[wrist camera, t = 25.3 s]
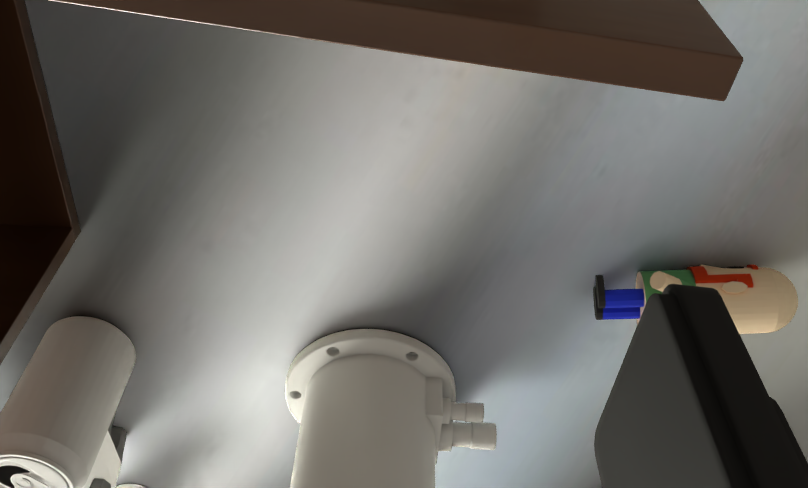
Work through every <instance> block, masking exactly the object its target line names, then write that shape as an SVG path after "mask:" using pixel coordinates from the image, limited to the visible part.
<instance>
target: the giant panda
mask: <svg viewBox="0 0 808 488" xmlns="http://www.w3.org/2000/svg"><path fill="white" fill-rule="evenodd" d="M115 414H116V411H115ZM115 414H114V416H113V419H112V421H111V423H110V426H109V428H108V431H107V433H106V436H105V438H104V441H103V443H102V445H101V448H100V450H99V453H98V455H97V458H96V460H95V462H94V465H93V467H92V470H91V472H90V475H89V477H88V479H87V482H86V484H85V485H84V486H83V487H82V488H115V486H116V483H117V479H118V476H119V473H120V469H121V464H122V456H123V450H124V445H125V441H126V435H127V432H126V431H125V430H124V429H123V428H120V427H112V424H113V421H114V418H115Z"/></svg>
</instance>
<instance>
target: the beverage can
mask: <svg viewBox="0 0 808 488" xmlns="http://www.w3.org/2000/svg"><path fill="white" fill-rule="evenodd" d="M135 362H136V352H135V348H134V346H133V344H132V342H131V341H130V339H129V338H128V337H127V336H126V335H125V334H124V333H123V332H122V331H121V330H119V329H118V328H117V327H115V326H114V325H112V324H110V323H108V322H106V321H104V320H101V319H97V318H93V317H83V316H75V317H68V318H64V319H61V320H59V321H57V322H55V323H54V324H52V325H51V326H50V327H49V328H48V330H47V331H46V333H45V335H44V337H43V338H42V340H41V342H40V344H39V346H38V347H37V349H36V351H35V353H34V354H33V356H32V358H31V360H30V362H29V363H28V365H27V367H26V369H25V370H24V372H23V374H22V376H21V378H20V379H19V381H18V383H17V385H16V386H15V388H14V390H13V392H12V394H11V395H10V397H9V399H8V401H7V403H6V404H5V406H4V408H3V410H2V411H1V413H0V488H82V487H83V486H84V485H85V484H86V482H87V479H88V477H89V475H90V472H91V470H92V467H93V465H94V462H95V460H96V458H97V455H98V453H99V450H100V448H101V445H102V443H103V441H104V438H105V436H106V433H107V431H108V428H109V426H110V423H111V421H112V419H113V416H114V414H115V411H116V409H117V406H118V404H119V402H120V399H121V397H122V394H123V392H124V389H125V387H126V385H127V382H128V380H129V377H130V375H131V372H132V370H133V368H134V365H135Z"/></svg>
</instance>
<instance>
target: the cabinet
mask: <svg viewBox="0 0 808 488" xmlns="http://www.w3.org/2000/svg"><path fill="white" fill-rule="evenodd" d="M80 232H81V229H80V225H79V221H78V217H77V213H76V209H75V205H74V201H73V197H72V193H71V188H70V184H69V180H68V176H67V172H66V168H65V164H64V160H63V156H62V152H61V148H60V144H59V140H58V136H57V132H56V127H55V123H54V119H53V115H52V111H51V107H50V103H49V99H48V95H47V91H46V87H45V83H44V79H43V75H42V71H41V66H40V62H39V58H38V54H37V50H36V46H35V42H34V38H33V34H32V30H31V26H30V22H29V18H28V14H27V10H26V6H25V1H24V0H0V364H1V363H2V361H3V359H4V358H5V356H6V354H7V353H8V351H9V350H10V348H11V346H12V345H13V343H14V341H15V340H16V338H17V336H18V335H19V333H20V331H21V330H22V328H23V326H24V325H25V323H26V322H27V320H28V318H29V317H30V315H31V313H32V312H33V310H34V308H35V307H36V305H37V303H38V302H39V300H40V298H41V297H42V295H43V293H44V292H45V290H46V289H47V287H48V285H49V284H50V282H51V280H52V279H53V277H54V275H55V274H56V272H57V270H58V269H59V267H60V265H61V264H62V262H63V260H64V259H65V257H66V256H67V254H68V252H69V251H70V249H71V247H72V246H73V244H74V242H75V240H76V239H77V237H78V235H79V234H80Z"/></svg>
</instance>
